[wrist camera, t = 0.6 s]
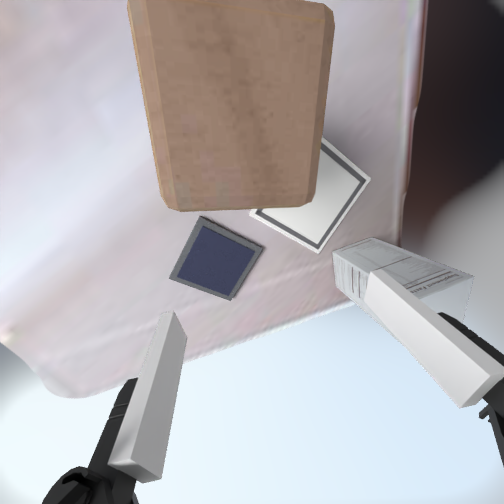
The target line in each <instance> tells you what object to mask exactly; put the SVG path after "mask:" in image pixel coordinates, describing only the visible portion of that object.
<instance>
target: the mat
mask: <svg viewBox="0 0 504 504" xmlns="http://www.w3.org/2000/svg"><path fill="white" fill-rule="evenodd" d="M370 180H371V178H370V177H369V176H367V175H366V174H365V173H364V172H363V171H362V170H360V169H359V168H358V167H357V166H356V165H355V164H354V163H352V162H351V161H350V160H349V159H348V158H347V157H345V156H344V155H343V154H342V153H341V152H340V151H339V150H337V149H336V148H335V147H334V146H333V145H332V144H330V143H329V142H328V141H327V140H326V139H325V138H323V137H322V141H321V149H320V158H319V166H318V175H317V183H316V192H315V195H314V197H313V200H312V202H310V203H307V204H305V205H303V206H301V207H292V208H266V209H252V210H251V212H250V214H249V215H250V216H251V217H253V218H255V219H257V220H259V221H260V222H262V223H264V224H266V225H268V226H269V227H271V228H273V229H275V230H276V231H278V232H280V233H282V234H284V235H285V236H287V237H289V238H291V239H293V240H294V241H296V242H298V243H300V244H301V245H303V246H305V247H307V248H309V249H310V250H312V251H314V252H316V253H318V254H319V252H320V251H321V250H322V248H323V247H324V245H325V244H326V242H327V241H328V240H329V238H330V237H331V235H332V234H333V232H334V231H335V230H336V228H337V227H338V225H339V224H340V222H341V221H342V220H343V218H344V217H345V215H346V214H347V212H348V211H349V210H350V208H351V207H352V205H353V204H354V202H355V201H356V200H357V198H358V197H359V195H360V194H361V192H362V191H363V190H364V188H365V187H366V185H367V184H368V182H369V181H370Z"/></svg>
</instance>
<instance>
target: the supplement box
mask: <svg viewBox="0 0 504 504" xmlns="http://www.w3.org/2000/svg"><path fill="white" fill-rule="evenodd" d="M332 254H333V264H334V273H335V282H336V287H337V288H338V289H339V290H341V291H342V292H343V293H344V294H345V295H346V296H347V297H349V298H350V299H351V300H352V301H353V302H354V303H355V304H357V305H358V306H359V307H360V308H361V309H362V310H363V311H365V312H366V313H367V314H368V315H369V316H370V317H371V318H373V319H374V320H375V321H376V322H377V323H378V324H380V325H381V326H382V327H383V328H384V329H385V330H386V331H387V332H389V333H390V334H391V335H392V336H393V337H394V338H395V339H397V338H396V337H395V335H394V334H393V333H392V332H391V331H390V330H389V329H388V328H387V326H386V325H385V324H384V323H383V322H382V321H381V320H380V319H379V317H378V316H377V315H376V314H375V313H374V312H373V311H372V310H371V308H370V307H369V306H368V305H367V304H366V303H365V302H364V298H365V293H366V289H367V284H368V279H369V275H370V271H374V270H379V269H382V270H383V271H384V272H386V273H387V274H388V275H389V276H391V277H392V278H393V279H394V280H396V281H397V282H398V283H399V284H401V285H402V286H403V287H404V288H406V289H407V290H408V291H409V292H411V293H412V294H413V295H414V296H416V297H417V298H418V299H419V300H421V301H422V302H423V303H424V304H426V305H427V306H428V307H430V308H431V309H432V310H433V311H435V312H436V313H440V312H443V313H445V314H447V315H449V316H451V317H453V318H455V319H457V320H458V321H460V322H461V323H463V320H464V316H465V311H466V307H467V303H468V300H469V296H470V292H471V288H472V284H473V280H474V276H473V275H470V274H467V273H465V272H462V271H459V270H457V269H454V268H451V267H449V266H446V265H444V264H441V263H438V262H436V261H433V260H430V259H428V258H425V257H423V256H420V255H417V254H415V253H412V252H410V251H407V250H405V249H402V248H399V247H397V246H394V245H392V244H389V243H386V242H384V241H381V240H379V239H376V238H373V237H371V238H368V239H365V240H362V241H360V242H357V243H354V244H351V245H349V246H346V247H343V248H340V249H338V250H335V251H333V252H332ZM397 340H398V339H397ZM398 341H399V340H398ZM399 342H400V341H399ZM400 343H401V342H400ZM401 344H402V343H401ZM402 345H403V344H402Z"/></svg>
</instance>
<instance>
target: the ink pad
mask: <svg viewBox="0 0 504 504" xmlns="http://www.w3.org/2000/svg"><path fill="white" fill-rule="evenodd" d="M261 251H262V247H260V246H258V245H256V244H254V243H252V242H250V241H248V240H246V239H244V238H242V237H240V236H238V235H236V234H234V233H232V232H230V231H228V230H226V229H224V228H222V227H220V226H218V225H217V224H215V223H213V222H211V221H209V220H207V219H205V218H203V217H201V216H199V218H198V220H197V222H196V224H195V226H194V228H193V230H192V232H191V234H190V236H189V238H188V240H187V242H186V244H185V246H184V248H183V250H182V253H181V255H180V257H179V259H178V261H177V263H176V265H175V267H174V269H173V271H172V273H171V275H170V277H169V279H171V280H174V281H177V282H179V283H182V284H185V285H188V286H190V287H193V288H196V289H199V290H202V291H204V292H207V293H210V294H213V295H215V296H218V297H221V298H224V299H227V300H229V301H231V300H232V298H233V296H234V295H235V293H236V291H237V290H238V288H239V287H240V285H241V283H242V282H243V280H244V278H245V277H246V275H247V273H248V272H249V270H250V269H251V267H252V265H253V264H254V262H255V260H256V259H257V257H258V256H259V254H260V252H261Z"/></svg>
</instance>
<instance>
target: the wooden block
mask: <svg viewBox="0 0 504 504" xmlns="http://www.w3.org/2000/svg"><path fill="white" fill-rule="evenodd" d="M127 10H128V16H129V21H130V27H131V33H132V38H133V44H134V49H135V55H136V60H137V66H138V71H139V77H140V83H141V88H142V94H143V99H144V105H145V110H146V116H147V121H148V127H149V133H150V138H151V144H152V149H153V155H154V160H155V166H156V172H157V177H158V183H159V188H160V194H161V197H162V198H163V200H164V202H165V203H166V205H167V207H168V208H171V209H174V210H177V211H180V212H189V211H215V210H241V209H266V208H292V207H301V206H303V205H305V204H307V203H310V202H312V200H313V197H314V195H315V192H316V183H317V175H318V166H319V158H320V149H321V141H322V132H323V123H324V115H325V106H326V98H327V89H328V81H329V72H330V64H331V55H332V47H333V38H334V30H335V23H334V16H333V11H332V10H331V9H329V8H328V7H327V6H326V5H325V4H322V3H316V2H310V1H304V0H128V3H127Z"/></svg>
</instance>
